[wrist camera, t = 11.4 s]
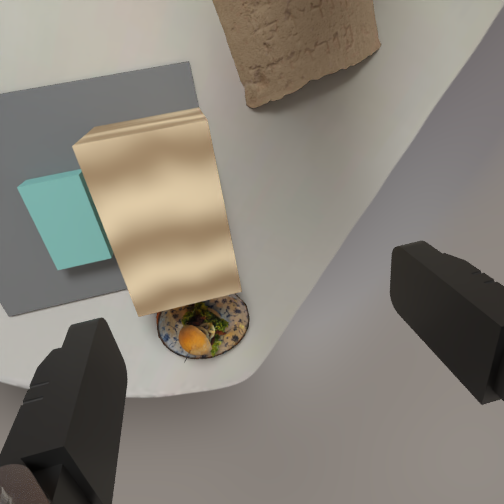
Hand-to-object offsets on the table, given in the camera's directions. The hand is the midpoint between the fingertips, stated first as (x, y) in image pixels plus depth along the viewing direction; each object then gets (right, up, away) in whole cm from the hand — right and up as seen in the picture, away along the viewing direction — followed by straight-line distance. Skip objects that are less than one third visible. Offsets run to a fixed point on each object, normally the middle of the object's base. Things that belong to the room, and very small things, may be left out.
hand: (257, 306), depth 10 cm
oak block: (-9, +8, +28) cm, 31 cm away
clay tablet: (+4, +24, +24) cm, 34 cm away
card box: (-18, +4, +25) cm, 31 cm away
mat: (-17, +7, +27) cm, 33 cm away
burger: (-7, -7, +37) cm, 38 cm away
